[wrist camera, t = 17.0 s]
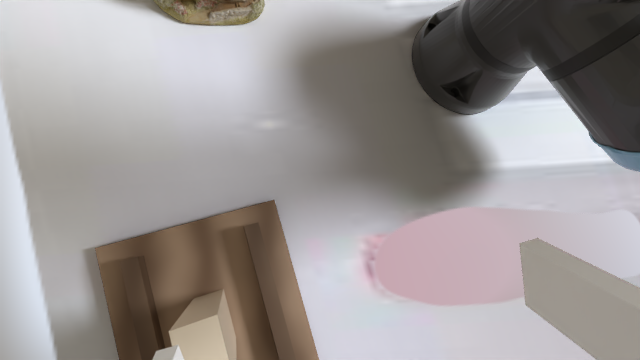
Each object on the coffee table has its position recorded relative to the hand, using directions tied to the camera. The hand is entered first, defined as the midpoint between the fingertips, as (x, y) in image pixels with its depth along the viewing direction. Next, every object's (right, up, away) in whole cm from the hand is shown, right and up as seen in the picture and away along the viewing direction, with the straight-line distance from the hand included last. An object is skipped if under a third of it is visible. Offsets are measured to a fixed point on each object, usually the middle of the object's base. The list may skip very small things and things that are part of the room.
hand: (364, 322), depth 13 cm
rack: (-13, -9, +24) cm, 28 cm away
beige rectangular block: (-12, -9, +22) cm, 27 cm away
